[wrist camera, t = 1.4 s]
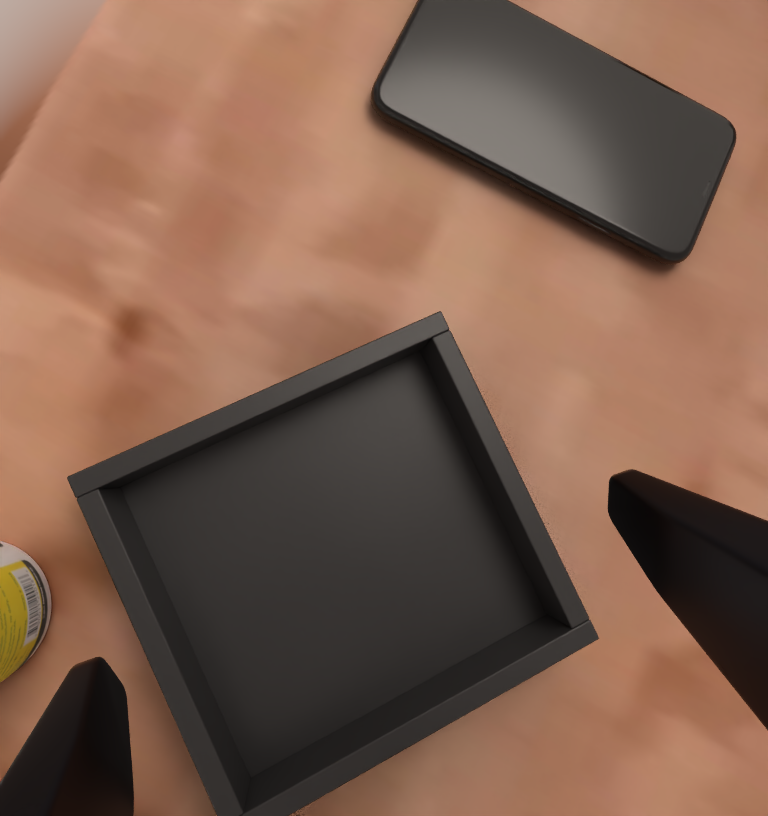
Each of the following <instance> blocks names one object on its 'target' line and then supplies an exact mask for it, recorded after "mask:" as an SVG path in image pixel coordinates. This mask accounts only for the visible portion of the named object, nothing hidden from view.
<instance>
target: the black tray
mask: <svg viewBox="0 0 768 816" xmlns="http://www.w3.org/2000/svg"><path fill="white" fill-rule="evenodd" d="M67 479H68V481H69V484H70V486H71V488H72V490H73V493H74V495H75V497H76V498H77V501H78V504H79V506H80V508H81V510H82V513H83V515H84V517H85V519H86V522H87V524H88V526H89V528H90V531H91V533H92V535H93V537H94V540H95V542H96V544H97V546H98V549H99V551H100V553H101V555H102V558H103V560H104V562H105V564H106V567H107V569H108V571H109V573H110V576H111V578H112V580H113V582H114V585H115V587H116V589H117V591H118V594H119V596H120V598H121V600H122V603H123V605H124V607H125V609H126V612H127V614H128V616H129V618H130V621H131V623H132V625H133V627H134V630H135V632H136V634H137V636H138V639H139V641H140V643H141V645H142V647H143V650H144V652H145V654H146V656H147V659H148V661H149V663H150V665H151V668H152V670H153V672H154V674H155V677H156V679H157V681H158V683H159V686H160V688H161V690H162V692H163V695H164V697H165V699H166V701H167V704H168V706H169V708H170V710H171V713H172V715H173V717H174V719H175V722H176V724H177V726H178V728H179V731H180V733H181V735H182V737H183V740H184V742H185V744H186V746H187V749H188V751H189V753H190V755H191V758H192V760H193V762H194V764H195V767H196V769H197V771H198V773H199V776H200V778H201V780H202V782H203V785H204V787H205V789H206V791H207V794H208V796H209V798H210V800H211V803H212V805H213V807H214V809H215V811H216V814H217V816H289V815H290V814H292V813H294V812H296V811H297V810H299V809H301V808H303V807H304V806H306V805H308V804H310V803H311V802H313V801H315V800H317V799H318V798H320V797H322V796H324V795H325V794H327V793H329V792H331V791H332V790H334V789H336V788H338V787H339V786H341V785H343V784H345V783H346V782H348V781H350V780H352V779H353V778H355V777H357V776H359V775H361V774H362V773H364V772H366V771H368V770H369V769H371V768H373V767H375V766H376V765H378V764H380V763H382V762H383V761H385V760H387V759H389V758H390V757H392V756H394V755H396V754H397V753H399V752H401V751H403V750H404V749H406V748H408V747H410V746H411V745H413V744H415V743H417V742H418V741H420V740H422V739H424V738H425V737H427V736H429V735H431V734H432V733H434V732H436V731H438V730H439V729H441V728H443V727H445V726H447V725H448V724H450V723H452V722H454V721H455V720H457V719H459V718H461V717H462V716H464V715H466V714H468V713H469V712H471V711H473V710H475V709H476V708H478V707H480V706H482V705H483V704H485V703H487V702H489V701H490V700H492V699H494V698H496V697H497V696H499V695H501V694H503V693H504V692H506V691H508V690H510V689H511V688H513V687H515V686H517V685H518V684H520V683H522V682H524V681H525V680H527V679H529V678H531V677H533V676H534V675H536V674H538V673H540V672H541V671H543V670H545V669H547V668H548V667H550V666H552V665H554V664H555V663H557V662H559V661H561V660H562V659H564V658H566V657H568V656H569V655H571V654H573V653H575V652H576V651H578V650H580V649H582V648H583V647H585V646H587V645H589V644H590V643H592V642H594V641H596V640H597V639H599V637H598V635H597V633H596V631H595V629H594V627H593V625H592V623H591V620H589V616H588V614H587V612H586V610H585V608H584V606H583V604H582V602H581V600H580V598H579V596H578V594H577V592H576V590H575V587H574V585H573V583H572V581H571V579H570V577H569V575H568V573H567V571H566V569H565V567H564V565H563V563H562V561H561V559H560V556H559V554H558V552H557V550H556V548H555V546H554V544H553V542H552V540H551V538H550V536H549V534H548V532H547V530H546V528H545V525H544V523H543V521H542V519H541V517H540V515H539V513H538V511H537V509H536V507H535V505H534V503H533V501H532V499H531V497H530V494H529V492H528V490H527V488H526V486H525V484H524V482H523V480H522V478H521V476H520V474H519V472H518V470H517V468H516V466H515V463H514V461H513V459H512V457H511V455H510V453H509V451H508V449H507V447H506V445H505V443H504V441H503V439H502V437H501V434H500V432H499V430H498V428H497V426H496V424H495V422H494V420H493V418H492V416H491V414H490V412H489V410H488V408H487V406H486V403H485V401H484V399H483V397H482V395H481V393H480V391H479V389H478V387H477V385H476V383H475V381H474V379H473V377H472V375H471V372H470V370H469V368H468V366H467V364H466V362H465V360H464V358H463V356H462V354H461V352H460V350H459V348H458V346H457V344H456V341H455V339H454V337H453V335H452V333H451V331H450V330H449V327H448V325H447V323H446V321H445V318H444V316H443V314H442V312H441V311H439V312H437V313H435V314H433V315H430V316H428V317H426V318H424V319H421V320H419V321H417V322H415V323H412V324H410V325H408V326H406V327H403V328H401V329H399V330H397V331H394V332H392V333H390V334H388V335H385V336H383V337H381V338H379V339H376V340H374V341H372V342H370V343H367V344H365V345H363V346H361V347H358V348H356V349H354V350H352V351H349V352H347V353H345V354H343V355H340V356H338V357H336V358H334V359H331V360H329V361H327V362H325V363H322V364H320V365H318V366H316V367H313V368H311V369H309V370H307V371H304V372H302V373H300V374H298V375H295V376H293V377H291V378H289V379H286V380H284V381H282V382H280V383H277V384H275V385H273V386H271V387H268V388H266V389H264V390H262V391H259V392H257V393H255V394H253V395H250V396H248V397H246V398H244V399H241V400H239V401H237V402H235V403H232V404H230V405H228V406H226V407H223V408H221V409H219V410H217V411H214V412H212V413H210V414H208V415H205V416H203V417H201V418H199V419H196V420H194V421H192V422H190V423H187V424H185V425H183V426H181V427H178V428H176V429H174V430H172V431H169V432H167V433H165V434H163V435H160V436H158V437H156V438H154V439H151V440H149V441H147V442H145V443H142V444H140V445H138V446H136V447H133V448H131V449H129V450H127V451H124V452H122V453H120V454H118V455H115V456H113V457H111V458H109V459H106V460H104V461H102V462H100V463H97V464H95V465H93V466H91V467H88V468H86V469H84V470H82V471H79V472H77V473H75V474H73V475H70V476H68V477H67Z"/></svg>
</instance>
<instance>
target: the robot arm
mask: <svg viewBox="0 0 768 816" xmlns="http://www.w3.org/2000/svg"><path fill="white" fill-rule="evenodd" d="M608 513H609V516H610V519H611V521H612V522H613V524H614V526H615V527H616V529H617V530H618V532H619V533H620V535H621V536H622V538H623V540H624V541H625V543H626V544H627V546H628V547H629V549H630V551H631V552H632V554H633V555H634V557H635V558H636V560H637V561H638V563H639V565H640V566H641V568H642V569H643V571H644V572H645V574H646V576H647V577H648V579H649V580H650V582H651V583H652V585H653V586H654V588H655V589H656V591H657V592H658V593H659V595H660V596H661V597H662V598H663V600H664V601H665V602H666V604H667V605H668V606H669V607H670V609H671V610H672V611H673V612H674V614H675V615H676V616H677V617H678V619H679V620H680V621H681V622H682V624H683V625H684V626H685V627H686V629H687V630H688V631H689V632H690V634H691V635H692V636H693V637H694V639H695V640H696V641H697V642H698V644H699V645H700V646H701V647H702V649H703V650H704V651H705V652H706V654H707V655H708V656H709V657H710V659H711V660H712V661H713V662H714V664H715V665H716V666H717V667H718V669H719V670H720V671H721V672H722V674H723V675H724V676H725V677H726V679H727V680H728V681H729V682H730V684H731V685H732V686H733V687H734V689H735V690H736V691H737V692H738V694H739V695H740V696H741V697H742V699H743V700H744V701H745V702H746V704H747V705H748V706H749V707H750V709H751V710H752V711H753V712H754V714H755V715H756V716H757V717H758V719H759V720H760V721H761V722H762V724H763V725H764V726H765V727H766V729H767V730H768V521H767V520H764V519H761V518H759V517H756V516H754V515H751V514H748V513H746V512H743V511H741V510H738V509H735V508H733V507H730V506H728V505H725V504H722V503H720V502H717V501H715V500H712V499H709V498H707V497H704V496H702V495H699V494H697V493H694V492H691V491H689V490H686V489H684V488H681V487H678V486H676V485H673V484H671V483H668V482H665V481H663V480H660V479H658V478H655V477H652V476H650V475H647V474H645V473H642V472H639V471H637V470H632V469H631V470H626V471H623V472H621V473H618V474H615V475H613V476H612V477H611V478H610V480H609V494H608ZM133 813H134V791H133V773H132V760H131V747H130V733H129V720H128V707H127V696H126V692H125V689H124V686H123V684H122V683H121V681H120V680H119V679H118V677H117V676H116V674H115V673H114V672H113V670H112V669H111V667H110V666H109V665H108V663H107V662H106V661H105V660H104V659H103V658H101V657H95V658H93V659H90V660H87V661H84V662H81V663H78V664H76V665H75V666H73V668H72V669H71V670H70V671H69V673H68V674H67V676H66V677H65V679H64V681H63V682H62V684H61V686H60V687H59V689H58V690H57V692H56V694H55V695H54V697H53V698H52V700H51V702H50V703H49V705H48V707H47V708H46V710H45V711H44V713H43V715H42V716H41V718H40V719H39V721H38V723H37V724H36V726H35V728H34V729H33V731H32V732H31V734H30V736H29V737H28V739H27V740H26V742H25V744H24V745H23V747H22V749H21V750H20V752H19V753H18V755H17V757H16V758H15V760H14V762H13V763H12V765H11V766H10V768H9V770H8V771H7V773H6V774H5V776H4V778H3V779H2V781H1V783H0V816H133Z"/></svg>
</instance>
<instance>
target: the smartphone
mask: <svg viewBox="0 0 768 816" xmlns="http://www.w3.org/2000/svg"><path fill="white" fill-rule="evenodd" d="M371 103H372V106H373V108H374V110H375V111H376V113H377V114H378V115H379V116H380V117H382V118H383V119H385V120H386V121H388V122H390V123H391V124H393V125H395V126H397V127H399V128H401V129H403V130H405V131H407V132H409V133H411V134H413V135H415V136H417V137H418V138H420V139H422V140H424V141H426V142H428V143H430V144H432V145H434V146H436V147H438V148H440V149H442V150H444V151H445V152H447V153H449V154H451V155H453V156H455V157H457V158H459V159H461V160H463V161H465V162H467V163H469V164H470V165H472V166H474V167H476V168H478V169H480V170H482V171H484V172H486V173H488V174H490V175H492V176H494V177H496V178H497V179H499V180H501V181H503V182H505V183H507V184H509V185H511V186H513V187H515V188H517V189H519V190H521V191H523V192H524V193H526V194H528V195H530V196H532V197H534V198H536V199H538V200H540V201H542V202H544V203H546V204H548V205H550V206H551V207H553V208H555V209H557V210H559V211H561V212H563V213H565V214H567V215H569V216H571V217H573V218H575V219H576V220H578V221H580V222H582V223H584V224H586V225H588V226H590V227H592V228H594V229H596V230H598V231H600V232H602V233H603V234H605V235H607V236H609V237H611V238H613V239H615V240H617V241H619V242H621V243H623V244H625V245H627V246H629V247H630V248H632V249H634V250H636V251H638V252H640V253H642V254H644V255H646V256H648V257H650V258H652V259H654V260H656V261H658V262H660V263H664V264H670V265H672V264H677V263H680V262H682V261H683V260H685V259H686V258H687V257H688V256H689V254H690V253H691V251H692V250H693V247H694V245H695V243H696V240H697V238H698V235H699V233H700V231H701V228H702V226H703V223H704V221H705V218H706V216H707V214H708V211H709V209H710V206H711V204H712V201H713V199H714V196H715V194H716V191H717V189H718V187H719V184H720V182H721V179H722V177H723V174H724V172H725V169H726V167H727V164H728V162H729V159H730V157H731V154H732V152H733V149H734V147H735V143H736V131H735V128H734V126H733V125H732V124H731V122H730V121H729V120H727V119H726V118H725V117H723V116H722V115H720V114H718V113H716V112H714V111H713V110H711V109H709V108H707V107H705V106H703V105H701V104H700V103H698V102H696V101H694V100H692V99H690V98H688V97H687V96H685V95H683V94H681V93H679V92H677V91H675V90H674V89H672V88H670V87H668V86H666V85H664V84H662V83H661V82H659V81H657V80H655V79H653V78H651V77H649V76H648V75H646V74H644V73H642V72H640V71H638V70H636V69H635V68H633V67H631V66H629V65H627V64H625V63H623V62H622V61H620V60H618V59H616V58H614V57H612V56H610V55H609V54H607V53H605V52H603V51H601V50H599V49H597V48H596V47H594V46H592V45H590V44H588V43H586V42H584V41H583V40H581V39H579V38H577V37H575V36H573V35H571V34H570V33H568V32H566V31H564V30H562V29H560V28H558V27H557V26H555V25H553V24H551V23H549V22H547V21H545V20H544V19H542V18H540V17H538V16H536V15H534V14H532V13H531V12H529V11H527V10H525V9H523V8H521V7H519V6H518V5H516V4H514V3H512V2H510V1H508V0H418V1H417V3H416V5H415V7H414V9H413V11H412V12H411V14H410V16H409V18H408V20H407V22H406V24H405V26H404V28H403V30H402V32H401V33H400V35H399V37H398V39H397V41H396V43H395V44H394V46H393V48H392V50H391V52H390V54H389V56H388V58H387V60H386V61H385V63H384V65H383V67H382V69H381V71H380V73H379V75H378V77H377V79H376V81H375V83H374V85H373V88H372V91H371Z"/></svg>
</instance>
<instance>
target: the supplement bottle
mask: <svg viewBox="0 0 768 816" xmlns="http://www.w3.org/2000/svg"><path fill="white" fill-rule="evenodd" d="M51 607H52V603H51V594H50V589H49V585H48V582H47V580H46V577H45V575H44V573H43V572H42V570H41V568H40V567H39V566H38V564H37V563H36V562H35V561H34V560H33V559H32V558H31V557H30V556H29V555H28V554H26V553H25V552H24V551H22V550H21V549H19V548H17V547H15V546H13V545H11V544H9V543H6V542H3V541H0V682H2V681H3V680H4V679H6V678H7V677H8V676H10V675H11V674H12V673H14V672H15V671H16V670H17V669H19V668H20V667H21V666H22V665H23V664H24V663H25V662H26V661H27V660H28V659H29V658H30V657H31V656H32V655H33V654H34V652H35V651H36V649H37V648H38V646H39V645H40V643H41V642H42V640H43V638H44V636H45V634H46V631H47V628H48V625H49V621H50V616H51Z"/></svg>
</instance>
